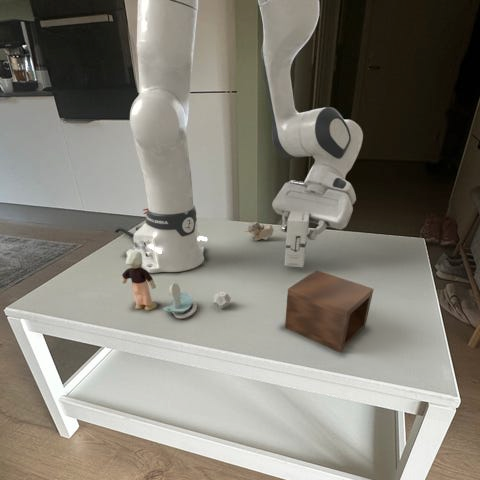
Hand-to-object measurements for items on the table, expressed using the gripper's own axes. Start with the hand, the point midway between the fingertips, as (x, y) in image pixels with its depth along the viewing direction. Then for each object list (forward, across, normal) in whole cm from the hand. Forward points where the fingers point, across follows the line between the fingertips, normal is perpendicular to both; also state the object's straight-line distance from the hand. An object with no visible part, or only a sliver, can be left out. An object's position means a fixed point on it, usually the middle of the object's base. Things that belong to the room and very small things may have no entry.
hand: (296, 234), depth 90 cm
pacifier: (+30, -6, -17) cm, 35 cm away
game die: (+25, -1, -12) cm, 28 cm away
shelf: (+20, +20, -8) cm, 29 cm away
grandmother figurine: (+33, -14, -20) cm, 41 cm away
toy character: (0, -19, +12) cm, 23 cm away
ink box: (+5, 0, +5) cm, 7 cm away
